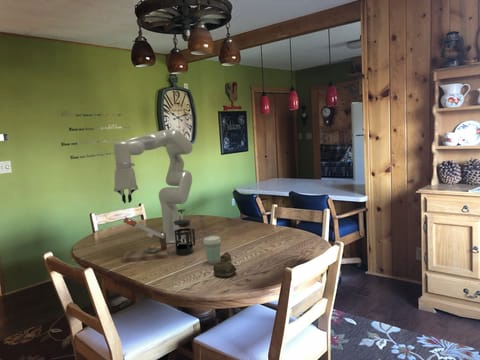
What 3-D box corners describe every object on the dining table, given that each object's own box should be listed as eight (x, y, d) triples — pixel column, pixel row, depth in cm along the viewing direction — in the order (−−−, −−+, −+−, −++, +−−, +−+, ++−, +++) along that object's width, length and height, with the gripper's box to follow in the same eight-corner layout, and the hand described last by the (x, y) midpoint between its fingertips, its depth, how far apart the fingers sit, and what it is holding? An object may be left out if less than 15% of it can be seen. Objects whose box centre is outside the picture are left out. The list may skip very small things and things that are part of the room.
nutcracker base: (168, 250, 203) (166, 230, 201) (167, 257, 191) (166, 236, 189) (126, 255, 199) (124, 235, 198) (122, 262, 187) (120, 241, 186)
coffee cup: (213, 258, 186) (211, 234, 185) (226, 261, 181) (224, 236, 180) (201, 263, 180) (199, 239, 178) (214, 266, 175) (212, 241, 173)
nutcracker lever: (162, 240, 197) (165, 233, 197) (162, 242, 194) (165, 235, 194) (122, 223, 192) (126, 216, 192) (121, 225, 190) (125, 217, 189)
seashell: (245, 258, 165) (229, 253, 172) (227, 250, 157) (212, 245, 165) (235, 283, 162) (220, 277, 169) (217, 276, 155) (202, 270, 162)
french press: (179, 257, 191) (176, 212, 188) (171, 253, 198) (167, 210, 195) (199, 251, 198) (196, 208, 195) (190, 248, 205) (187, 206, 202)
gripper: (140, 164, 193) (143, 200, 195) (108, 166, 190) (112, 202, 193) (139, 165, 185) (142, 202, 188) (106, 168, 183) (109, 205, 185)
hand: (127, 202), depth 190 cm, fingers closed
